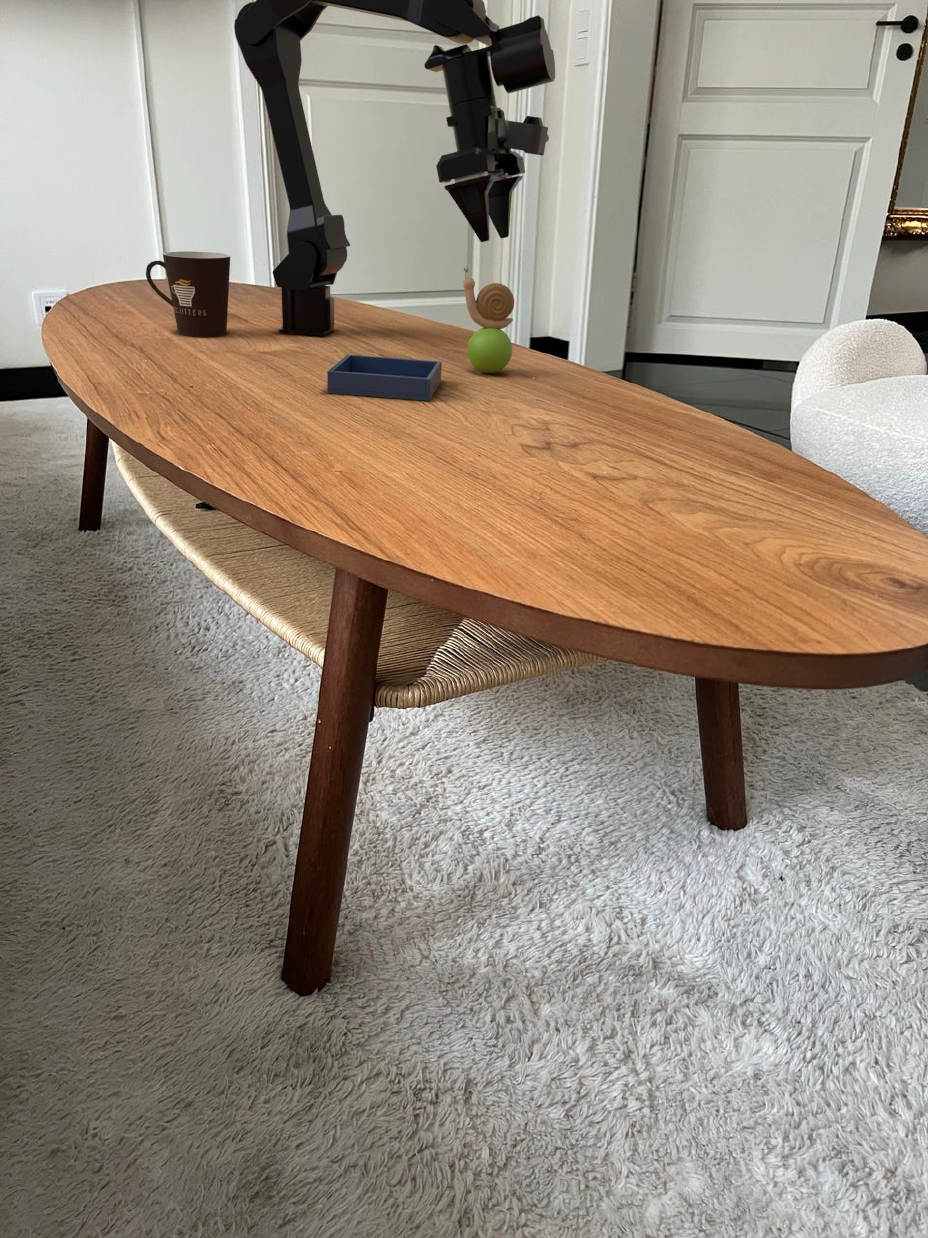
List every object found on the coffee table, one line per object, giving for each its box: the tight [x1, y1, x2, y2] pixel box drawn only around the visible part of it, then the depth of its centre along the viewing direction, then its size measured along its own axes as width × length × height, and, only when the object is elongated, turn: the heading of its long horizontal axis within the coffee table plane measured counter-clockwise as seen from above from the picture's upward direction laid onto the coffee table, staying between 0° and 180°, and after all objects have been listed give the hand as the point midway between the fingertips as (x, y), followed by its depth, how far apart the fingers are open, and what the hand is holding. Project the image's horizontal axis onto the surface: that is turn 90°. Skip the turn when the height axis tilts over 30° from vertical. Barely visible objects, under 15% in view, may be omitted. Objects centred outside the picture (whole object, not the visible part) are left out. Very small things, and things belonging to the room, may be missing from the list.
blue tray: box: [326, 353, 443, 402], centre depth 100 cm, size 11×10×2 cm
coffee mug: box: [145, 250, 231, 338], centre depth 122 cm, size 12×9×10 cm
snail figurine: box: [462, 266, 515, 374], centre depth 108 cm, size 5×6×12 cm
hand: (495, 239), depth 116 cm, fingers open, 9 cm apart
